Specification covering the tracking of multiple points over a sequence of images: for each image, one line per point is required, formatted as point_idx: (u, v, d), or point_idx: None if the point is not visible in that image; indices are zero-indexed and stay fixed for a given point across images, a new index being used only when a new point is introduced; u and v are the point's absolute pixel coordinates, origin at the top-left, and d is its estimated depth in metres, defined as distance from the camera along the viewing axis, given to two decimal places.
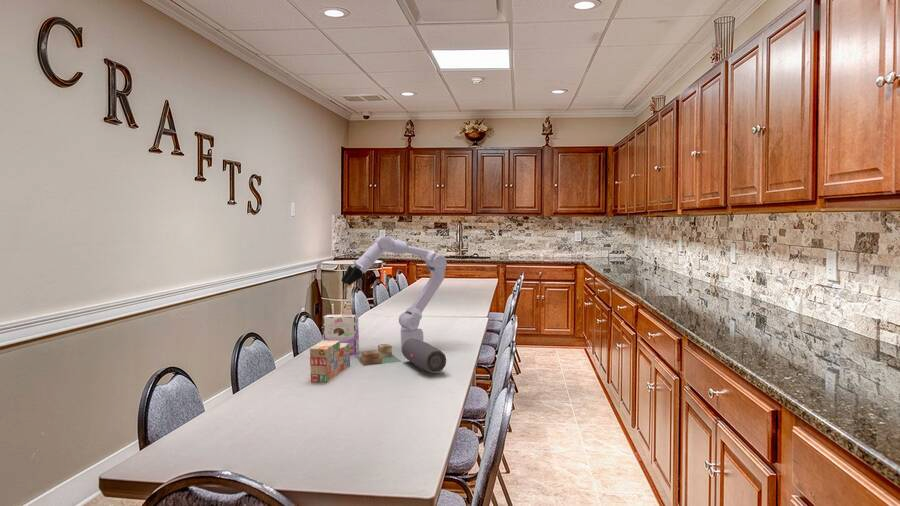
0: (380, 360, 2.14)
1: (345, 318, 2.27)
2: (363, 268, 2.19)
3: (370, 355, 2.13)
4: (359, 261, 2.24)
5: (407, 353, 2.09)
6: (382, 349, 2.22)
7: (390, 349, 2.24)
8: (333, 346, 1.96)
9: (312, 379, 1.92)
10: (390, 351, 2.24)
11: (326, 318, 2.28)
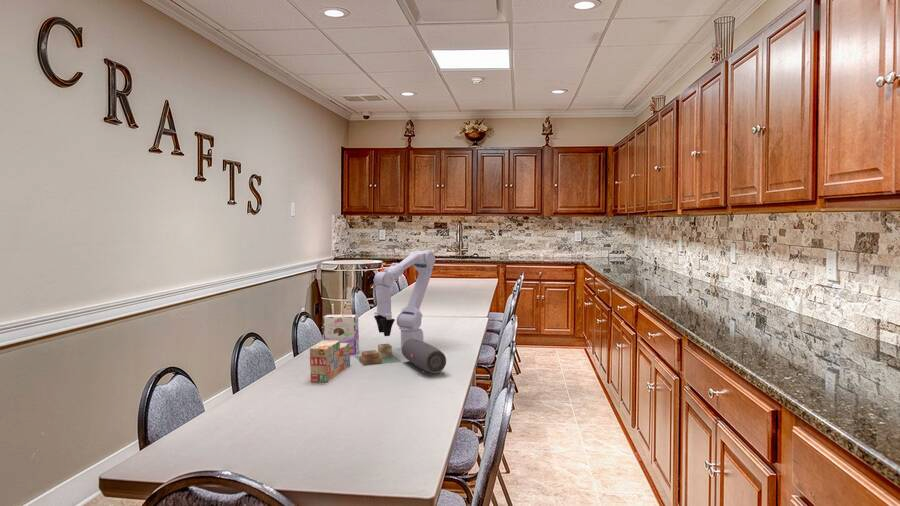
0: (380, 360, 2.14)
1: (345, 318, 2.27)
2: (388, 316, 2.17)
3: (370, 355, 2.13)
4: (379, 310, 2.22)
5: (407, 353, 2.09)
6: (382, 349, 2.22)
7: (390, 349, 2.24)
8: (333, 346, 1.96)
9: (312, 379, 1.92)
10: (390, 351, 2.24)
11: (326, 318, 2.28)
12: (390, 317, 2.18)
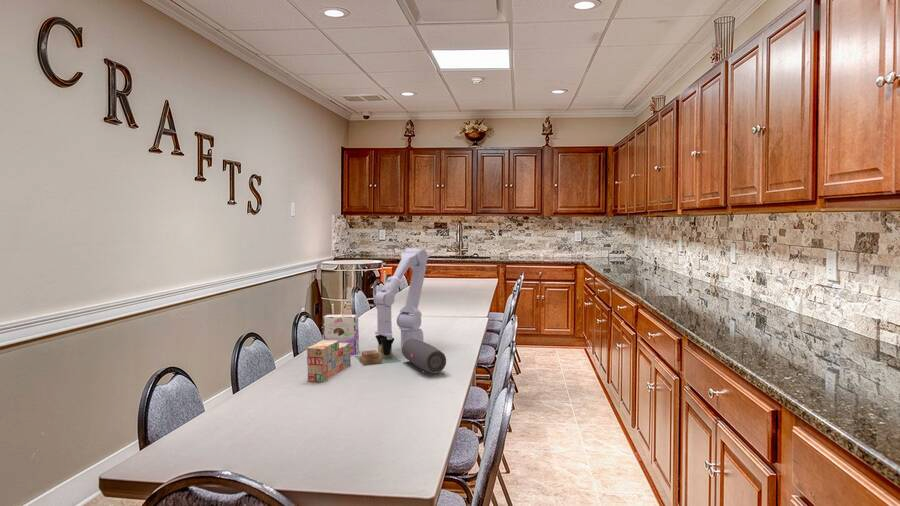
0: (380, 360, 2.14)
1: (345, 318, 2.27)
2: (389, 336, 2.18)
3: (370, 355, 2.13)
4: (380, 330, 2.22)
5: (407, 353, 2.09)
6: (382, 349, 2.22)
7: None
8: (331, 346, 1.96)
9: (309, 378, 1.93)
10: (390, 351, 2.24)
11: (326, 318, 2.28)
12: (391, 337, 2.18)
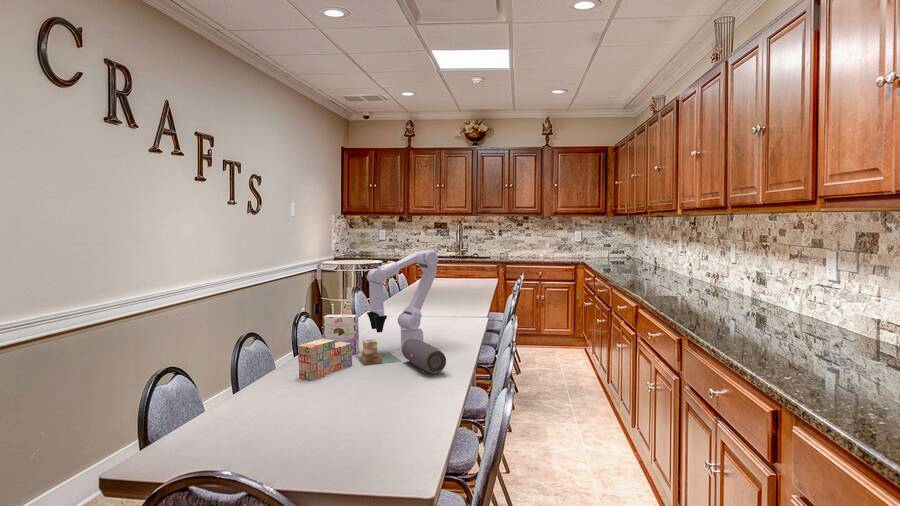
0: (380, 360, 2.14)
1: (345, 318, 2.27)
2: (380, 313, 2.20)
3: (370, 355, 2.13)
4: (372, 307, 2.24)
5: (407, 353, 2.09)
6: (367, 345, 2.12)
7: (375, 345, 2.14)
8: (323, 345, 1.98)
9: (300, 376, 1.96)
10: (375, 347, 2.14)
11: (326, 318, 2.28)
12: (382, 314, 2.20)
